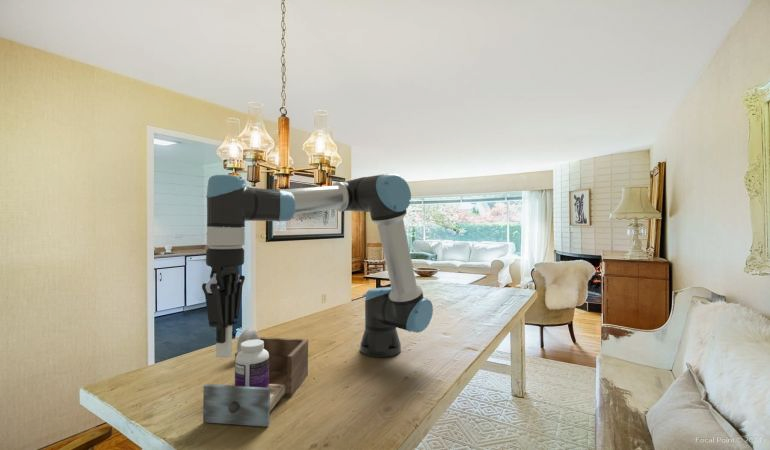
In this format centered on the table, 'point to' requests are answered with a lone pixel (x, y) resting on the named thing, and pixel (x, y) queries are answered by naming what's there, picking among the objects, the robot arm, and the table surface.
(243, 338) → the donut
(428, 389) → the table surface
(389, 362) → the table surface
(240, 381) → the pill bottle
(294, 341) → the wooden drawer box
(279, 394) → the grey drawer
